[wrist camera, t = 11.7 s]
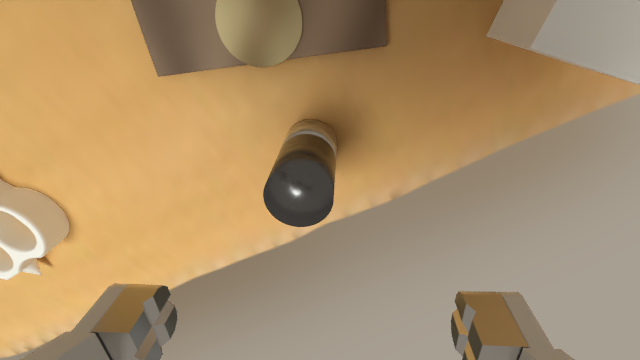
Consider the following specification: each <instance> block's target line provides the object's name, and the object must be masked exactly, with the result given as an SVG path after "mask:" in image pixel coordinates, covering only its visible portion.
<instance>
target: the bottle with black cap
mask: <svg viewBox="0 0 640 360" xmlns="http://www.w3.org/2000/svg"><path fill="white" fill-rule="evenodd" d="M336 153H337V139H336V136H335V134H334V132H333V131H332V129H331V128H330V127H329V126H328V125H326V124H325V123H323V122H321V121H318V120H313V119H307V120H303V121H300V122H298V123H296V124H295V125H294V126H292V128H291V129H290V130H289V132H288V134H287V136H286V139H285V141H284V143H283V145H282V148H281V150H280V152H279V155H278V157H277V159H276V162H275V164H274V166H273V168H272V171H271V173H270V175H269V178H268V180H267V182H266V185H265V188H264V193H263V196H264V202H265V205H266V207H267V209H268V210H269V212H270V213H271V214H272V215H273V216H274V217H275V218H276V219H278V220H279V221H281V222H282V223H285V224H287V225H290V226H296V227H306V226H311V225H314V224H317V223H319V222H320V221H322V220H323V219H324V218H326V216H327V215H328V214H329V212H330V211H331V209H332V206H333V198H334V183H335V168H336Z"/></svg>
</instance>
